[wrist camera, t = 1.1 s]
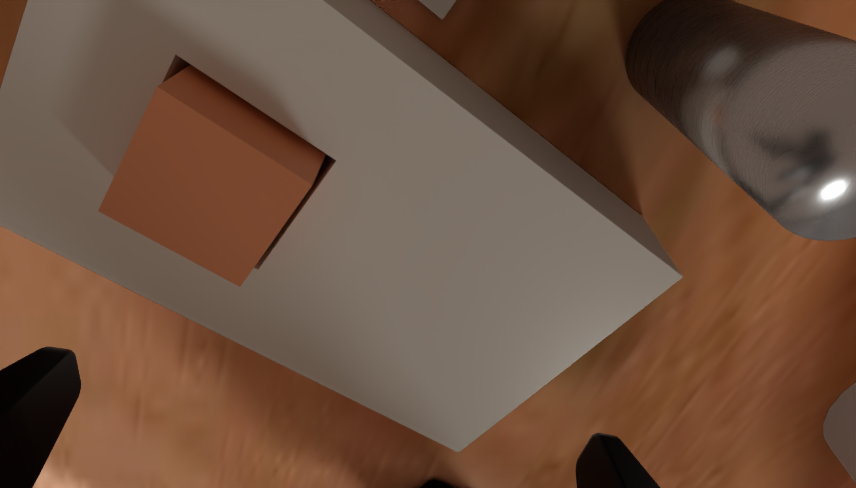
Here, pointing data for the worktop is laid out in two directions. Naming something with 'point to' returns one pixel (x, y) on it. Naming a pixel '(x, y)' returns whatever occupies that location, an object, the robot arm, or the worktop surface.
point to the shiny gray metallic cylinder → (758, 105)
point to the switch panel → (337, 203)
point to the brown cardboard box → (210, 175)
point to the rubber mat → (439, 6)
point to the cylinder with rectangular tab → (843, 429)
